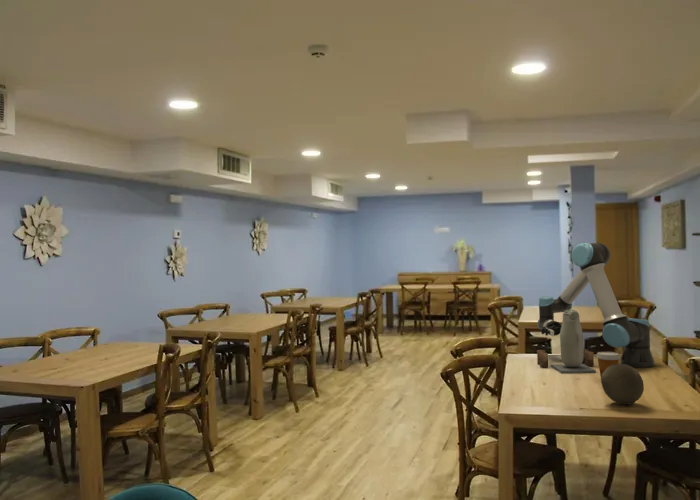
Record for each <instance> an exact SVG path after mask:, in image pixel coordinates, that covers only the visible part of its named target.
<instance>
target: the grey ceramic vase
mask: <svg viewBox="0 0 700 500" xmlns="http://www.w3.org/2000/svg"><path fill="white" fill-rule="evenodd" d="M580 321H581V320H580V314H579V311H577V310H576V309H572V308H571V309H569V310H566V311H565V312H562V321H561V322H562V323H561V326H562V327H561V331H560V334H559V343H560V345H559V346H560V358H561V361H562V364H565V365H566V366H568V367H572V368H574V367H579V366H580V365H581V364H582V362H583V358H584V353H583V349H584V332H583V329H582V324H581V322H580Z"/></svg>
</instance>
